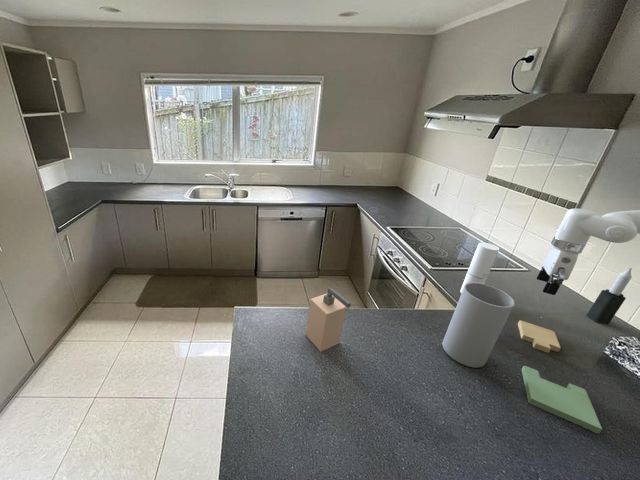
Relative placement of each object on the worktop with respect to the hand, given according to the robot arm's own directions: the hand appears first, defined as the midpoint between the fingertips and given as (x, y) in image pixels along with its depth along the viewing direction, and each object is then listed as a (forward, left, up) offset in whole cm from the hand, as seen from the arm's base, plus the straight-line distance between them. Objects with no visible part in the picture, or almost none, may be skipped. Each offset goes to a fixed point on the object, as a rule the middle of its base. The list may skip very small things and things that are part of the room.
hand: (545, 286), depth 101 cm
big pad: (-4, +32, -20) cm, 38 cm away
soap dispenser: (+59, +54, -20) cm, 83 cm away
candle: (-27, -28, -20) cm, 43 cm away
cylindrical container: (+17, -15, -20) cm, 30 cm away
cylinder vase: (+19, +29, -20) cm, 40 cm away
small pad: (-4, +4, -20) cm, 21 cm away
